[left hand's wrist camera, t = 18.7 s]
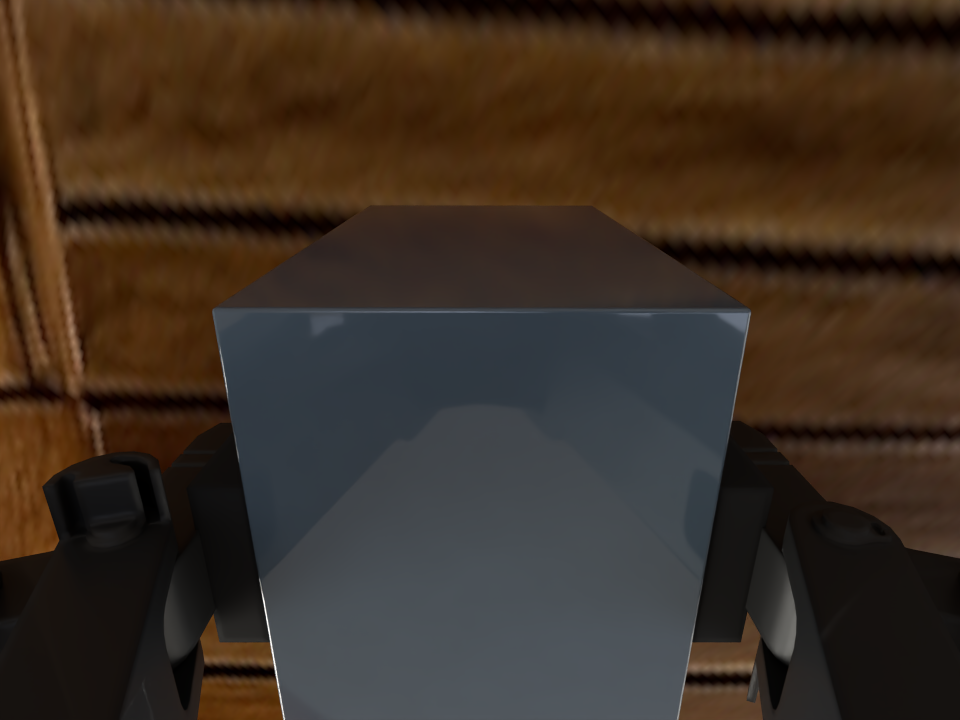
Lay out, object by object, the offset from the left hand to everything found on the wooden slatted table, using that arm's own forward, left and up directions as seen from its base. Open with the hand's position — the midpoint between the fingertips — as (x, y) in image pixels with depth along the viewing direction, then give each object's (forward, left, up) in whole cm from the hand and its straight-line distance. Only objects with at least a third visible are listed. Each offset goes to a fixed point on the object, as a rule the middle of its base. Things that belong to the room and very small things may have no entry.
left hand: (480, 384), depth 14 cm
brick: (0, 0, -4) cm, 4 cm away
